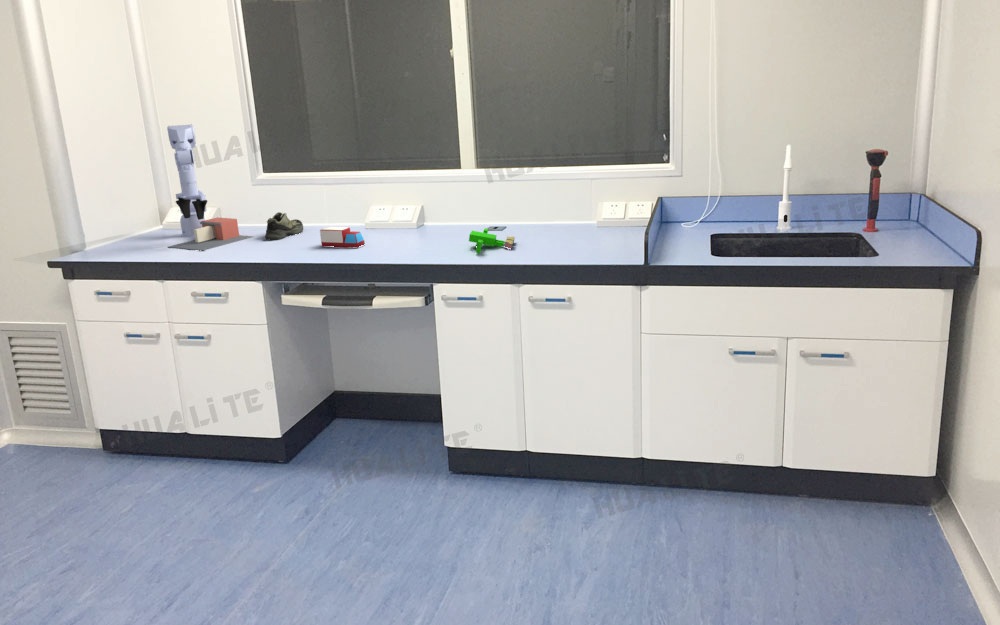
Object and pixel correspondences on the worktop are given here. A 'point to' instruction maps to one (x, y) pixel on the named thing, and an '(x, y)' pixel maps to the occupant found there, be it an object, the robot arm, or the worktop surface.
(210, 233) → the cream rectangular block
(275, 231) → the hiking shoe
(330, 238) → the toy truck
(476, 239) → the toy
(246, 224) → the worktop surface
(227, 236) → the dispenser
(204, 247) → the mat
